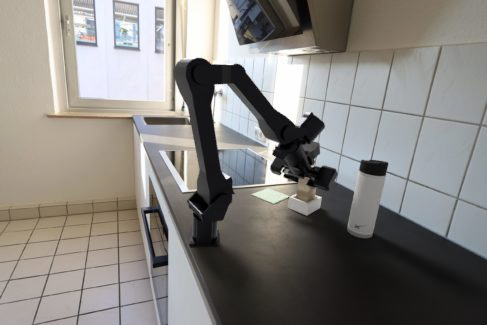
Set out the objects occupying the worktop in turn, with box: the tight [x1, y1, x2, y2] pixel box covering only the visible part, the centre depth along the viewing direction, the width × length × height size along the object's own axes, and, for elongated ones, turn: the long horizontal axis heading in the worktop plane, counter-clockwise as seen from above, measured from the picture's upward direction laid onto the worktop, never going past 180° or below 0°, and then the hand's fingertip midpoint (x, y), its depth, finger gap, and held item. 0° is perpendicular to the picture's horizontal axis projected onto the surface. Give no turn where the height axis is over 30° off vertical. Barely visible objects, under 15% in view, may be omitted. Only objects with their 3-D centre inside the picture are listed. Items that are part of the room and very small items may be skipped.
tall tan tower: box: [295, 165, 317, 203], centre depth 86 cm, size 5×4×12 cm
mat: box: [250, 187, 291, 205], centre depth 94 cm, size 9×9×1 cm
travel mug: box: [346, 159, 389, 239], centre depth 72 cm, size 6×7×20 cm
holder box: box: [287, 193, 323, 216], centre depth 87 cm, size 8×7×4 cm
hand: (309, 186), depth 86 cm, fingers closed on tall tan tower, 3 cm apart
